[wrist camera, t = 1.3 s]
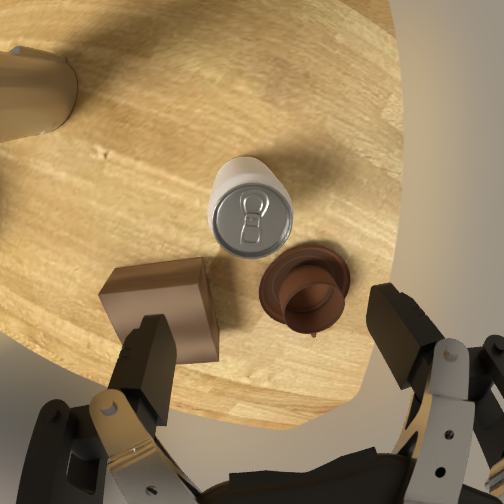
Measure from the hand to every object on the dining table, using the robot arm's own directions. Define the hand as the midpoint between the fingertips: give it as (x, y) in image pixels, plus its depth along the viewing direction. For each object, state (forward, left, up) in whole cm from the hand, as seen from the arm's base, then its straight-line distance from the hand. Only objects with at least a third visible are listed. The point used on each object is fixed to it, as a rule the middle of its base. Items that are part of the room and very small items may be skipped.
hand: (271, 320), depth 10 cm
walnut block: (+14, -12, -22) cm, 29 cm away
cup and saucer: (+14, +6, -22) cm, 27 cm away
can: (0, 0, -22) cm, 22 cm away
